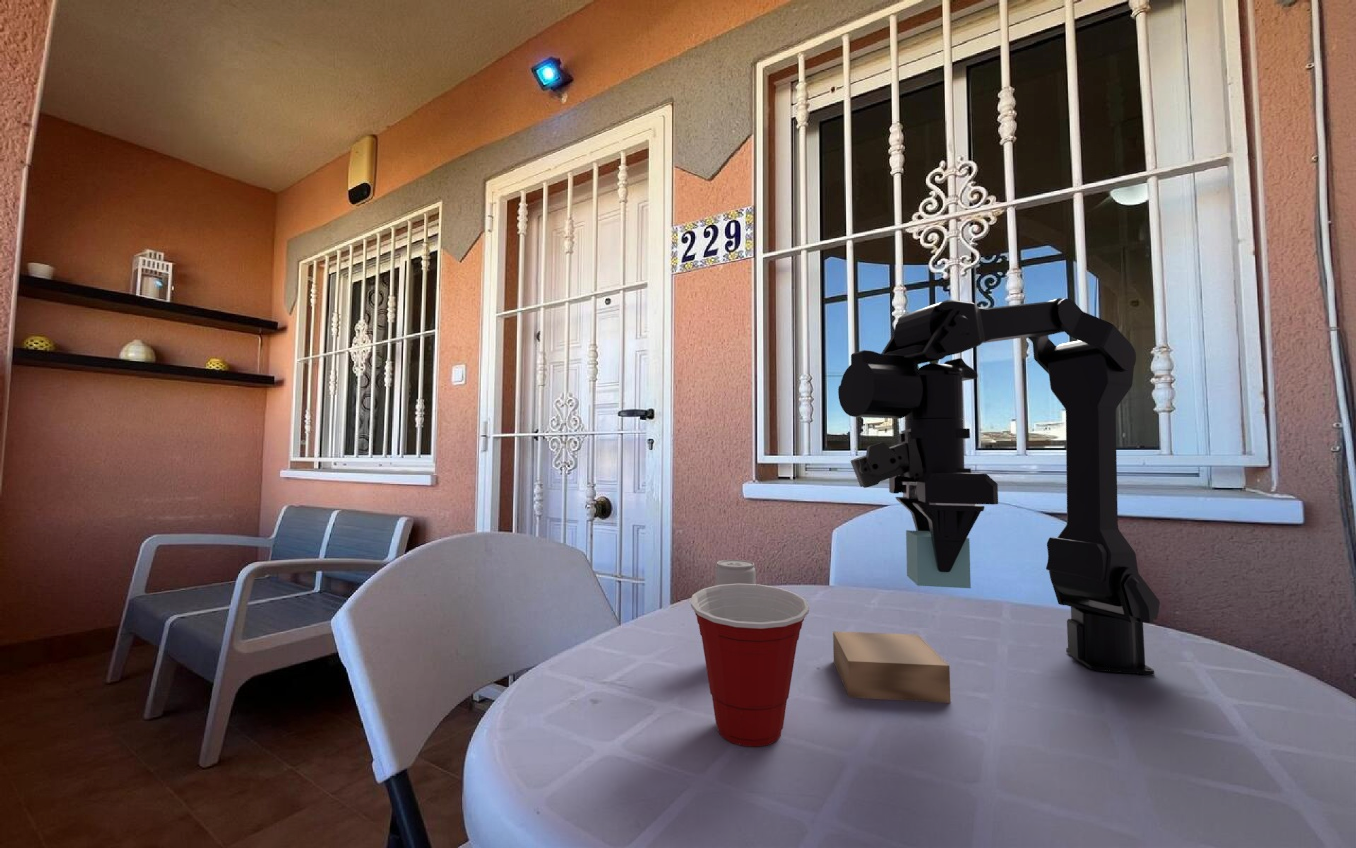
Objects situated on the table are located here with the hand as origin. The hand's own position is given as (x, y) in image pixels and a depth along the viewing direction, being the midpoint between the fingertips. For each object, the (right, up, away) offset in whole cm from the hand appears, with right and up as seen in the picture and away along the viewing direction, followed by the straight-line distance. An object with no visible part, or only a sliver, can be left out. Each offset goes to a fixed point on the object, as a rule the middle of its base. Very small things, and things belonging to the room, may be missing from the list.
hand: (936, 566), depth 58 cm
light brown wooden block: (-4, -14, +3) cm, 15 cm away
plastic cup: (-21, -13, -9) cm, 26 cm away
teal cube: (0, -2, 0) cm, 2 cm away
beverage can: (-21, -14, +8) cm, 26 cm away
